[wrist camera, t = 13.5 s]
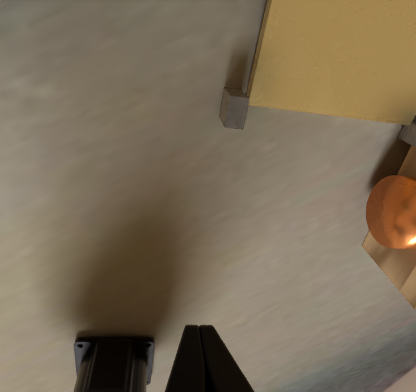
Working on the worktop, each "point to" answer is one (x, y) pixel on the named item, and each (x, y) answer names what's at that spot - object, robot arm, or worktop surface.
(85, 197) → the worktop surface
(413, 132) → the keeper bracket
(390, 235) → the hitch pin
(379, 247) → the block
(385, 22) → the plate
